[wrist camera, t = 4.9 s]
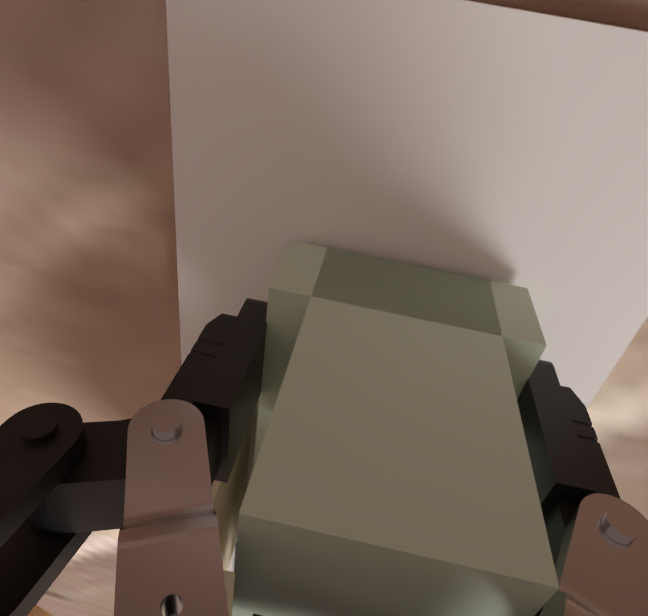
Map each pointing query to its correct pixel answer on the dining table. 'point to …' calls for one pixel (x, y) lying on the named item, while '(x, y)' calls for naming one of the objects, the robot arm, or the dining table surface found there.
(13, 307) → the dining table surface
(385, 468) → the sage green stepped block
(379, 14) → the white base plate
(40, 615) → the cutting board
